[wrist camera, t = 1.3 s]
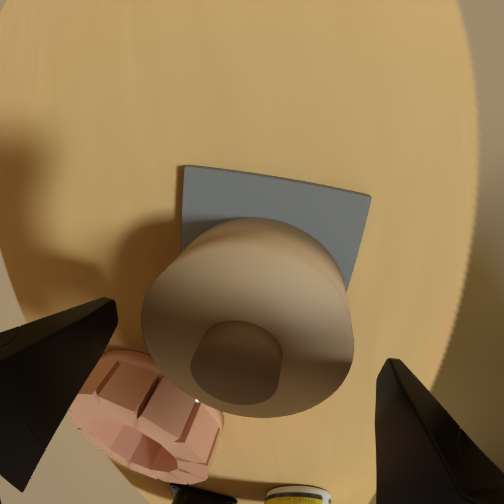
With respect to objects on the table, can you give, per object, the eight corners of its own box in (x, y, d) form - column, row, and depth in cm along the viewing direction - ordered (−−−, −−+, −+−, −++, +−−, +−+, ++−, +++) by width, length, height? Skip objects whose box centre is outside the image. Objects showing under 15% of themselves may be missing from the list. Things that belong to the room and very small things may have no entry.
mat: (309, 388, 13) (309, 394, 12) (184, 361, 14) (181, 367, 13) (369, 194, 9) (371, 197, 9) (189, 164, 10) (184, 166, 9)
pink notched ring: (220, 453, 17) (207, 495, 14) (110, 415, 18) (89, 449, 15) (228, 377, 13) (208, 436, 10) (83, 330, 14) (46, 369, 11)
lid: (321, 377, 12) (317, 451, 8) (176, 346, 13) (140, 409, 9) (367, 237, 9) (395, 300, 6) (177, 203, 10) (113, 245, 7)
